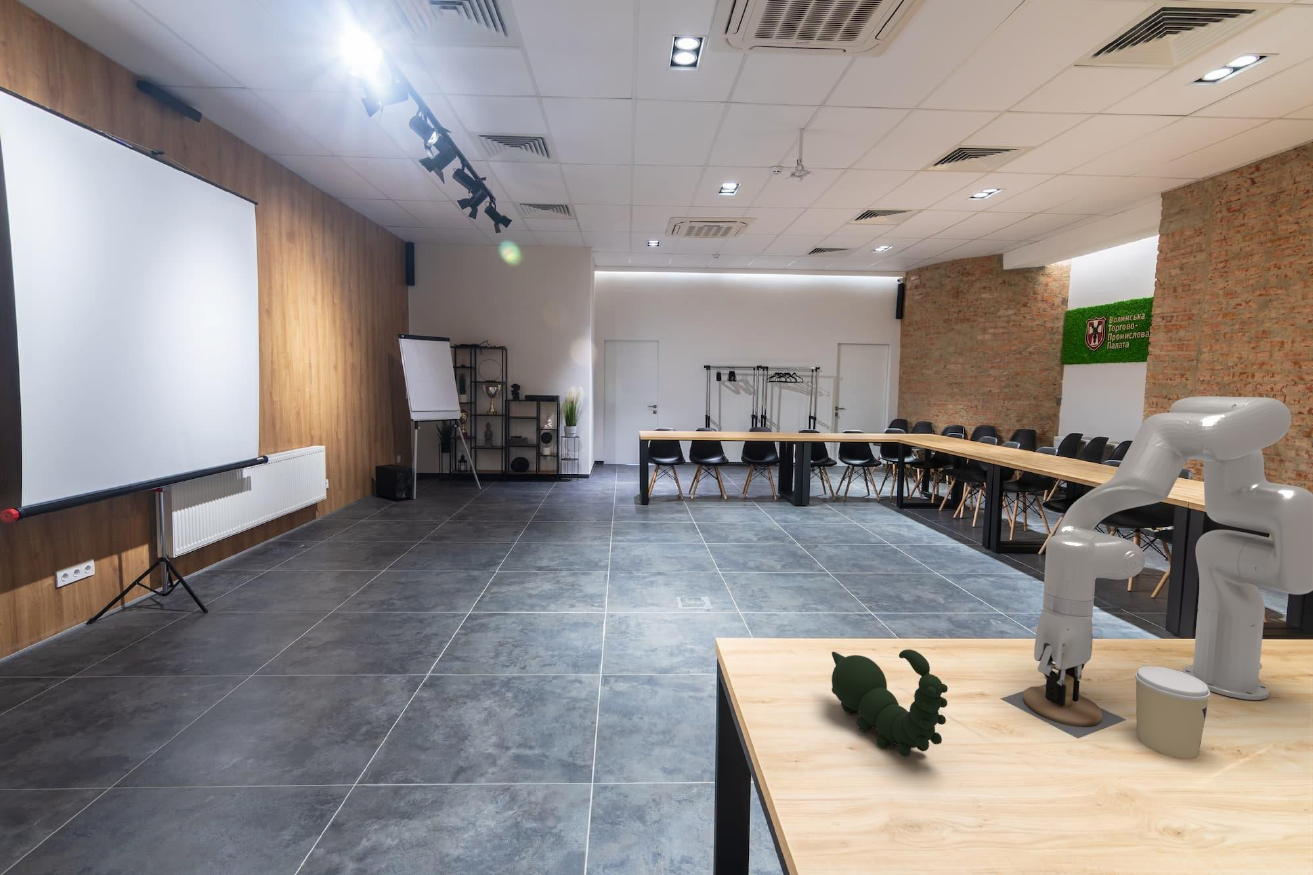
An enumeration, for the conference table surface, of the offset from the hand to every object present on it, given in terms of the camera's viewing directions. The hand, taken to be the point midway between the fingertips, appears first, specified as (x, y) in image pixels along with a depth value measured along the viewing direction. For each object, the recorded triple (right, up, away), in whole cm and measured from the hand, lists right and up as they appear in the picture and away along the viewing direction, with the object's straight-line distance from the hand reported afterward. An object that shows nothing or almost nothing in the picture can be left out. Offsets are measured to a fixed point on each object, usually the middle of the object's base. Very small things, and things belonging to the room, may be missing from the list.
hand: (1061, 699), depth 108 cm
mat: (0, -2, 0) cm, 2 cm away
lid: (0, -2, 0) cm, 2 cm away
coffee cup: (+10, -4, -11) cm, 15 cm away
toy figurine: (-37, -3, -6) cm, 37 cm away
